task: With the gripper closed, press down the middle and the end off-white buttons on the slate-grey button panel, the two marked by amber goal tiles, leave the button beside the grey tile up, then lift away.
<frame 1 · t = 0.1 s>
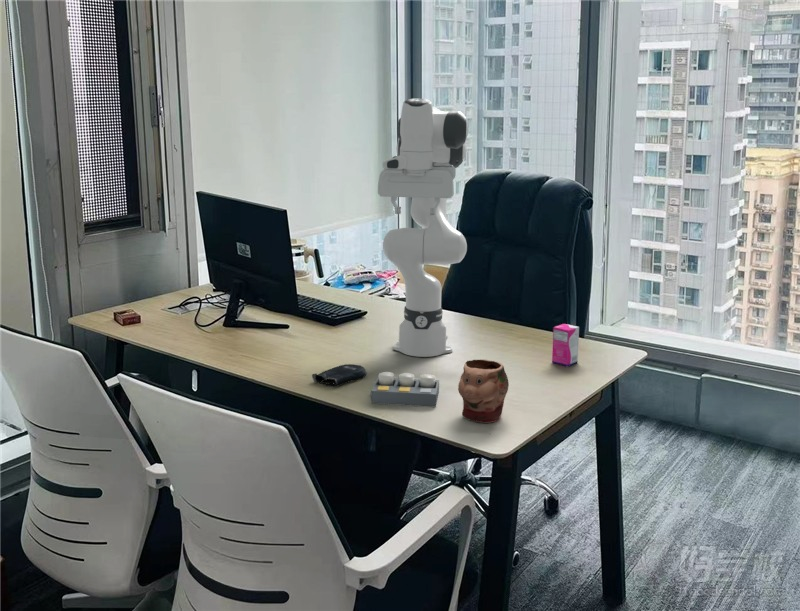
hand: (415, 214, 227), 48 cm above the table, fingers open, 8 cm apart
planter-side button: (427, 381, 227), point 5 cm above the table, slide at 0.0 cm
supplement box: (564, 363, 259), on the table
middle button: (406, 379, 228), point 5 cm above the table, slide at 0.0 cm
button panel: (405, 398, 227), on the table
electronic device: (342, 380, 242), on the table
decorative planter: (483, 415, 217), on the table
end button: (386, 378, 228), point 5 cm above the table, slide at 0.0 cm
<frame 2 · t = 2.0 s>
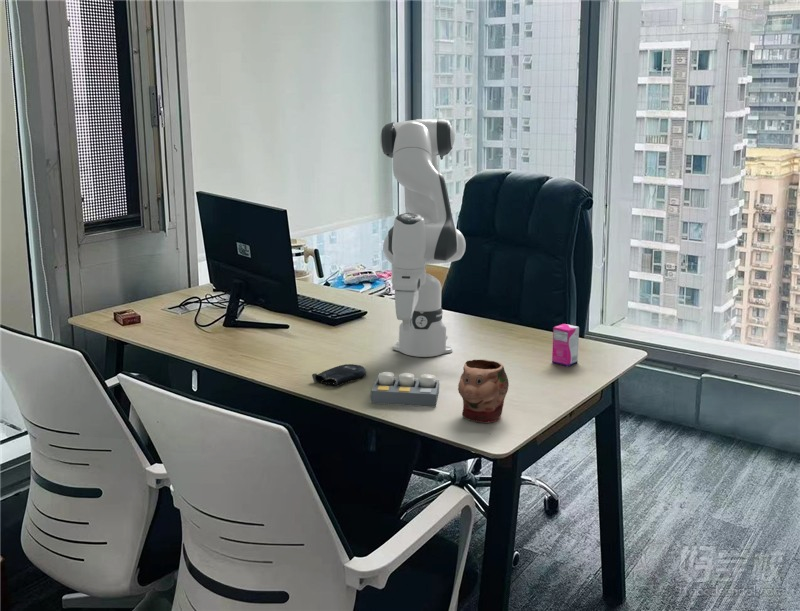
hand: (407, 327, 224), 19 cm above the table, fingers open, 3 cm apart
nothing on the table moved.
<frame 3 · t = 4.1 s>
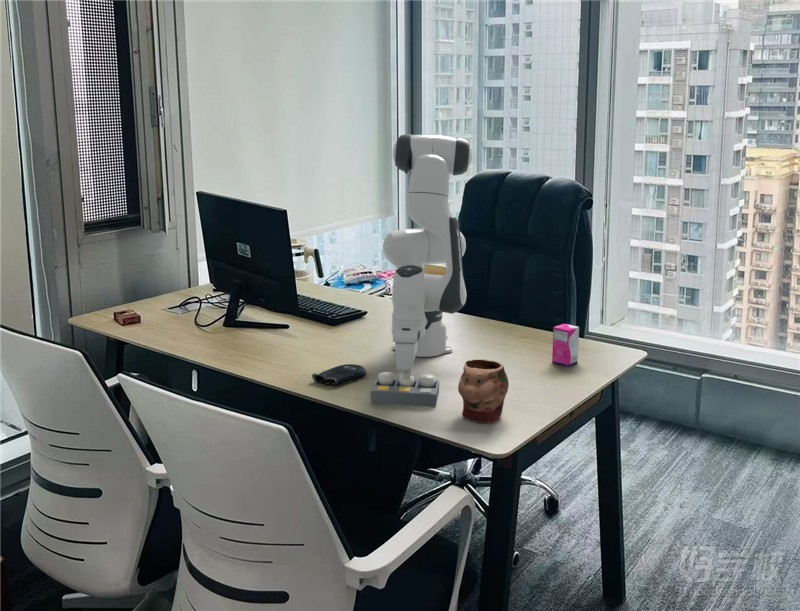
hand: (407, 377, 227), 5 cm above the table, fingers closed, pressing on middle button
middle button: (406, 381, 228), point 4 cm above the table, slide at 0.5 cm, touching gripper
everything else where it was.
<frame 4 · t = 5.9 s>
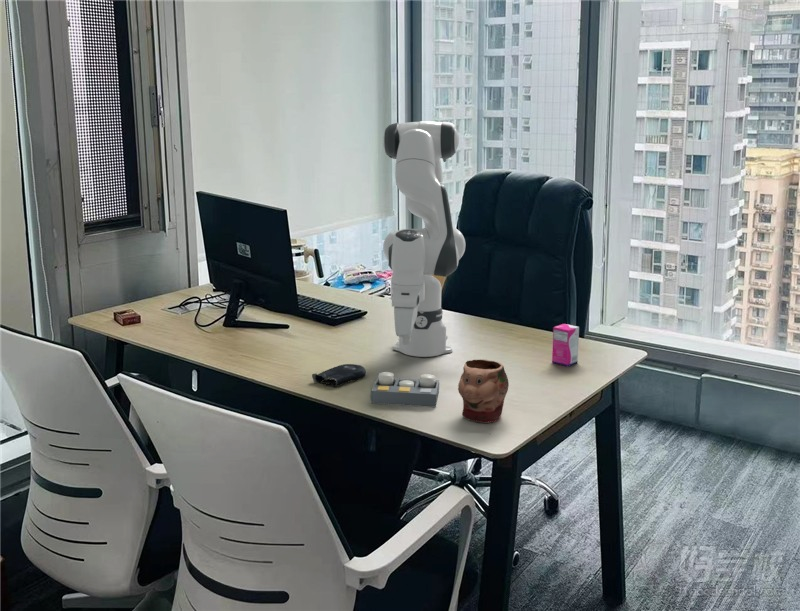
hand: (406, 343, 225), 15 cm above the table, fingers closed
middle button: (406, 387, 228), point 2 cm above the table, slide at 2.1 cm
everything else where it was.
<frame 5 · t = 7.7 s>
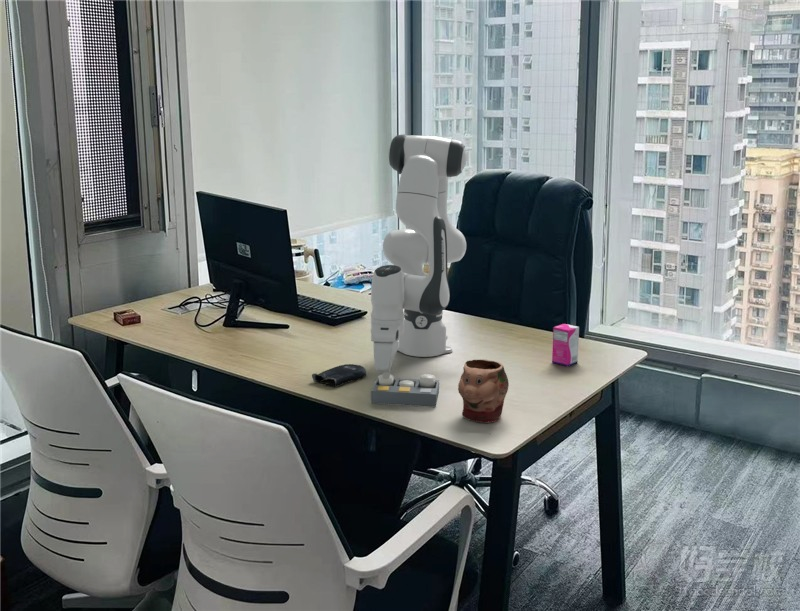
hand: (386, 376, 228), 5 cm above the table, fingers closed, pressing on end button
end button: (386, 380, 229), point 4 cm above the table, slide at 0.6 cm, touching gripper
everything else where it was.
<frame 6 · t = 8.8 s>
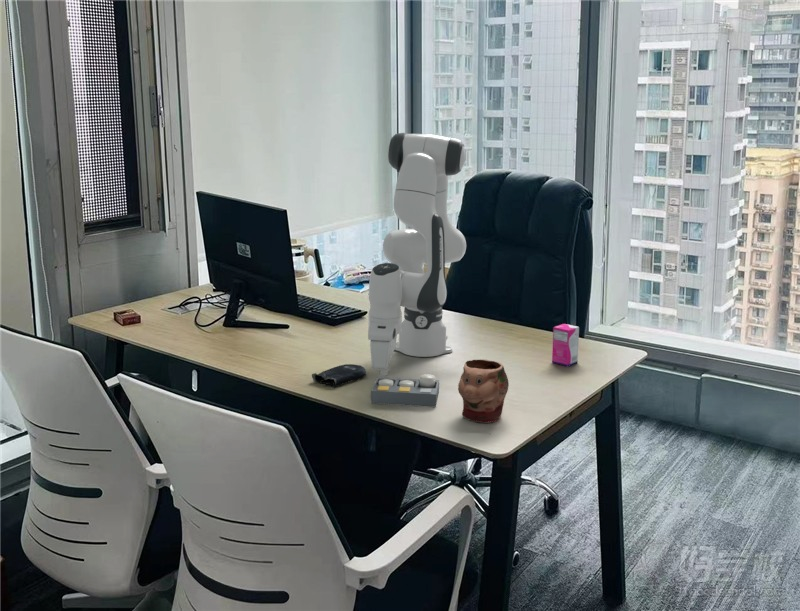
hand: (384, 374, 229), 6 cm above the table, fingers closed
end button: (385, 386, 229), point 2 cm above the table, slide at 2.1 cm
everything else where it was.
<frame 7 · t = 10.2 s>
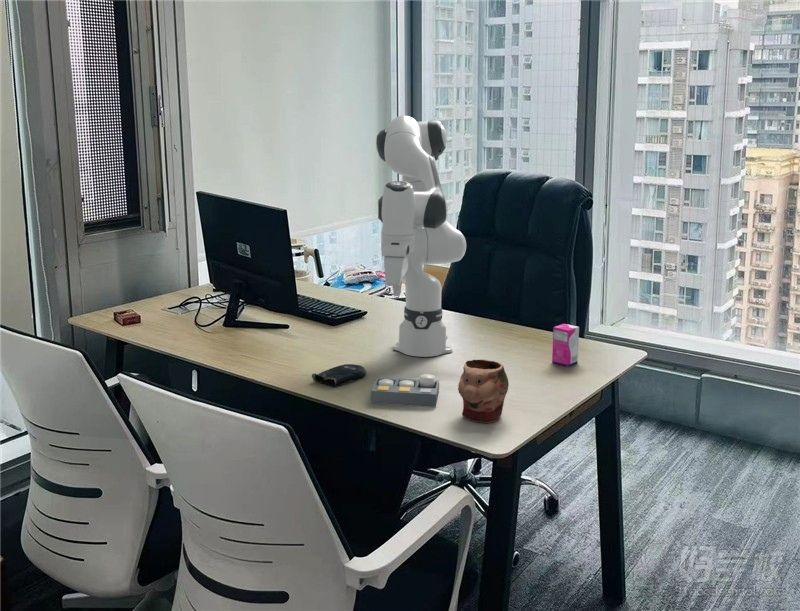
hand: (397, 294, 227), 27 cm above the table, fingers closed
nothing on the table moved.
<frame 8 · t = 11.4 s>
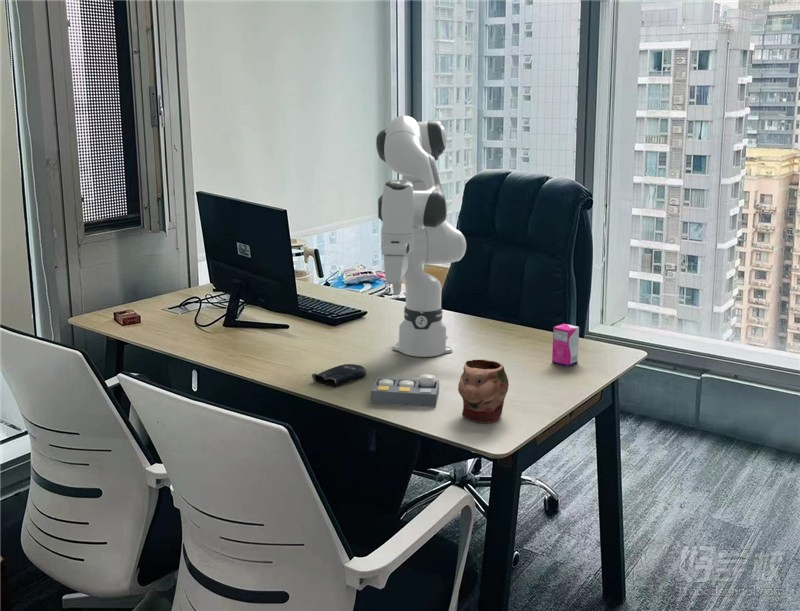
hand: (397, 293, 227), 27 cm above the table, fingers closed
nothing on the table moved.
at the end: middle button slide at 2.1 cm; end button slide at 2.1 cm; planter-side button slide at 0.0 cm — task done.
